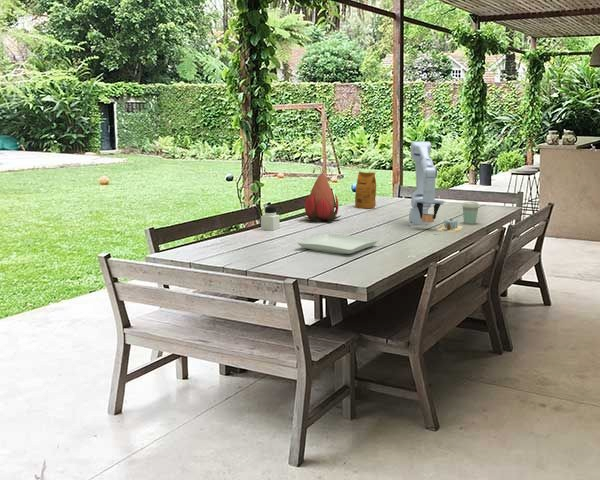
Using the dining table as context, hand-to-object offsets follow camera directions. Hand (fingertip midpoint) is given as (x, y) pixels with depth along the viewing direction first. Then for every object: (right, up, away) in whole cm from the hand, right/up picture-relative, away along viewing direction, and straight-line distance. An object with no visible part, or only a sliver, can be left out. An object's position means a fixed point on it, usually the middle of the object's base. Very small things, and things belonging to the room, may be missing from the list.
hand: (427, 218), depth 350 cm
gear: (+13, -4, +6) cm, 15 cm away
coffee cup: (+25, -3, +18) cm, 31 cm away
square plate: (-47, -15, -39) cm, 63 cm away
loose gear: (0, -2, 0) cm, 2 cm away
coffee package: (-24, +9, +78) cm, 82 cm away
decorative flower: (-52, 0, +33) cm, 62 cm away
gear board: (+12, -6, +4) cm, 14 cm away
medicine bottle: (-79, -6, +5) cm, 79 cm away
